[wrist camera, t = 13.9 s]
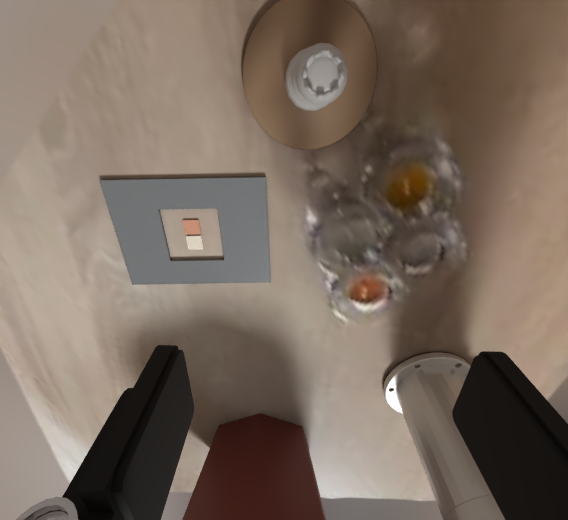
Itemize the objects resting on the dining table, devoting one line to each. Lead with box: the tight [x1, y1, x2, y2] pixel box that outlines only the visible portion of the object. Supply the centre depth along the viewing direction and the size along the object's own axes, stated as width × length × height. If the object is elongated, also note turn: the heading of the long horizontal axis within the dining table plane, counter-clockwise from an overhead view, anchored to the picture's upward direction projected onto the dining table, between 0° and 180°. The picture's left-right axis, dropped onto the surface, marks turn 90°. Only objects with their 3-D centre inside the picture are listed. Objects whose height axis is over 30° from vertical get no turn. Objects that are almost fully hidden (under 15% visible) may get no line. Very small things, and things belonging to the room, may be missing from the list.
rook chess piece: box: [285, 43, 348, 111], centre depth 21 cm, size 4×4×8 cm
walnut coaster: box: [243, 0, 377, 149], centre depth 25 cm, size 11×11×1 cm
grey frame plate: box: [99, 177, 271, 285], centre depth 31 cm, size 16×12×1 cm
